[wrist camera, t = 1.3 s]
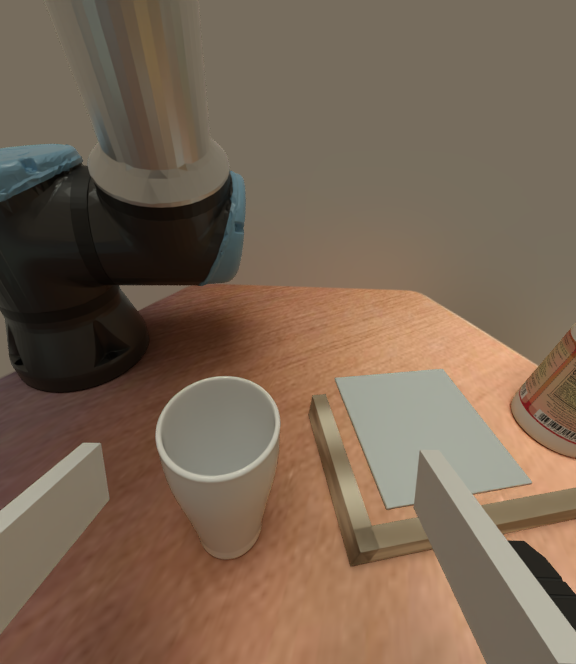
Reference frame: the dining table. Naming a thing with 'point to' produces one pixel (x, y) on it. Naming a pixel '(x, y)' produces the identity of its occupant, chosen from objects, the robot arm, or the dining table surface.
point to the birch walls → (409, 534)
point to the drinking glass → (221, 459)
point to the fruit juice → (551, 399)
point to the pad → (423, 433)
